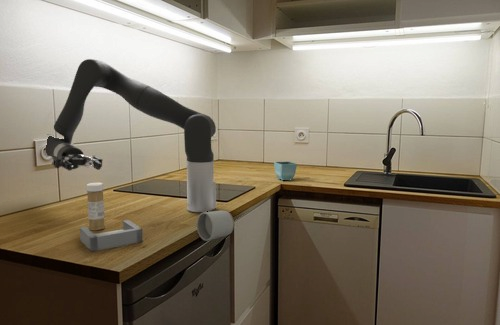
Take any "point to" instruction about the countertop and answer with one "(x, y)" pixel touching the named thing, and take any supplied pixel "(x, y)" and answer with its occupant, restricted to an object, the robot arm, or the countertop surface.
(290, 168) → the flower pot
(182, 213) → the countertop surface
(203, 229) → the ceramic mug
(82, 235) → the bay
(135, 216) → the countertop surface
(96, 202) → the sprinkles bottle
